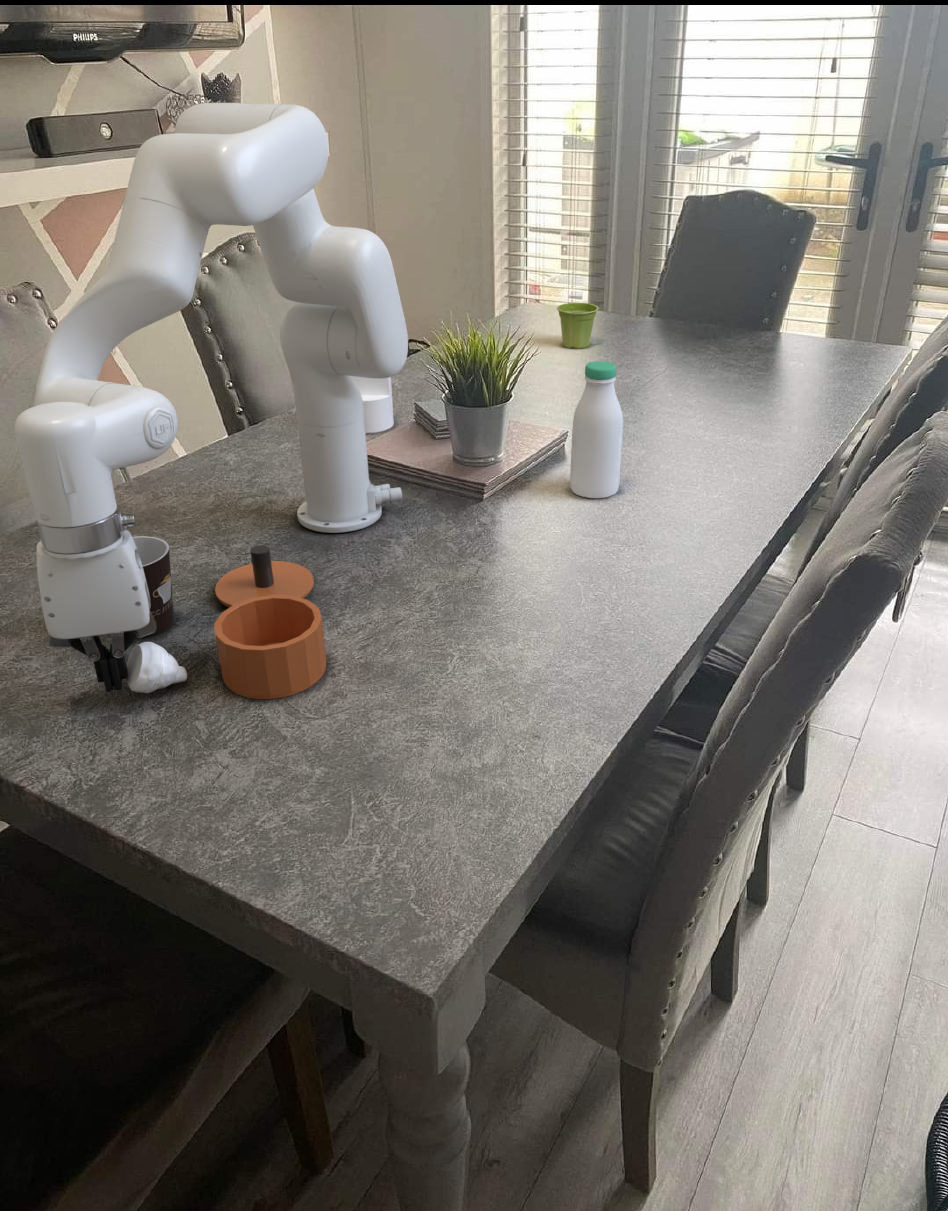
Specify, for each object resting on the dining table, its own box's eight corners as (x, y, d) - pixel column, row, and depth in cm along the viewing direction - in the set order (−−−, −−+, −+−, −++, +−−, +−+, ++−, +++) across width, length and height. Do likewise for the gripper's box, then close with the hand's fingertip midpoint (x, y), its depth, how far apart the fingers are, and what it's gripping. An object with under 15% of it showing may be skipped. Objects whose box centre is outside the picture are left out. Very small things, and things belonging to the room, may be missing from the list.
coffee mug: (156, 599, 124) (141, 529, 119) (197, 621, 119) (183, 549, 114) (74, 638, 116) (54, 565, 111) (114, 662, 111) (96, 587, 106)
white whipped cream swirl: (184, 706, 106) (202, 666, 104) (131, 700, 102) (148, 658, 100) (172, 678, 110) (189, 638, 108) (120, 671, 106) (136, 630, 104)
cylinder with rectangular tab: (395, 416, 183) (392, 353, 177) (391, 432, 175) (387, 367, 169) (348, 416, 183) (343, 353, 177) (342, 433, 175) (336, 368, 169)
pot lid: (307, 562, 132) (302, 522, 129) (321, 606, 122) (316, 564, 119) (213, 576, 129) (206, 535, 126) (219, 622, 119) (212, 579, 116)
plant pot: (604, 346, 222) (606, 308, 217) (571, 353, 218) (572, 314, 213) (581, 337, 229) (582, 300, 224) (548, 343, 225) (548, 305, 220)
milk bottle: (622, 499, 148) (631, 371, 138) (572, 500, 148) (577, 372, 138) (615, 479, 155) (623, 356, 145) (567, 480, 155) (572, 357, 145)
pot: (318, 635, 116) (312, 588, 112) (333, 688, 106) (328, 639, 103) (219, 651, 113) (211, 603, 110) (226, 707, 103) (217, 657, 100)
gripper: (159, 507, 100) (185, 657, 109) (4, 523, 96) (44, 677, 105) (159, 536, 94) (186, 692, 103) (-7, 555, 90) (37, 715, 99)
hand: (114, 684), depth 104 cm, fingers closed
